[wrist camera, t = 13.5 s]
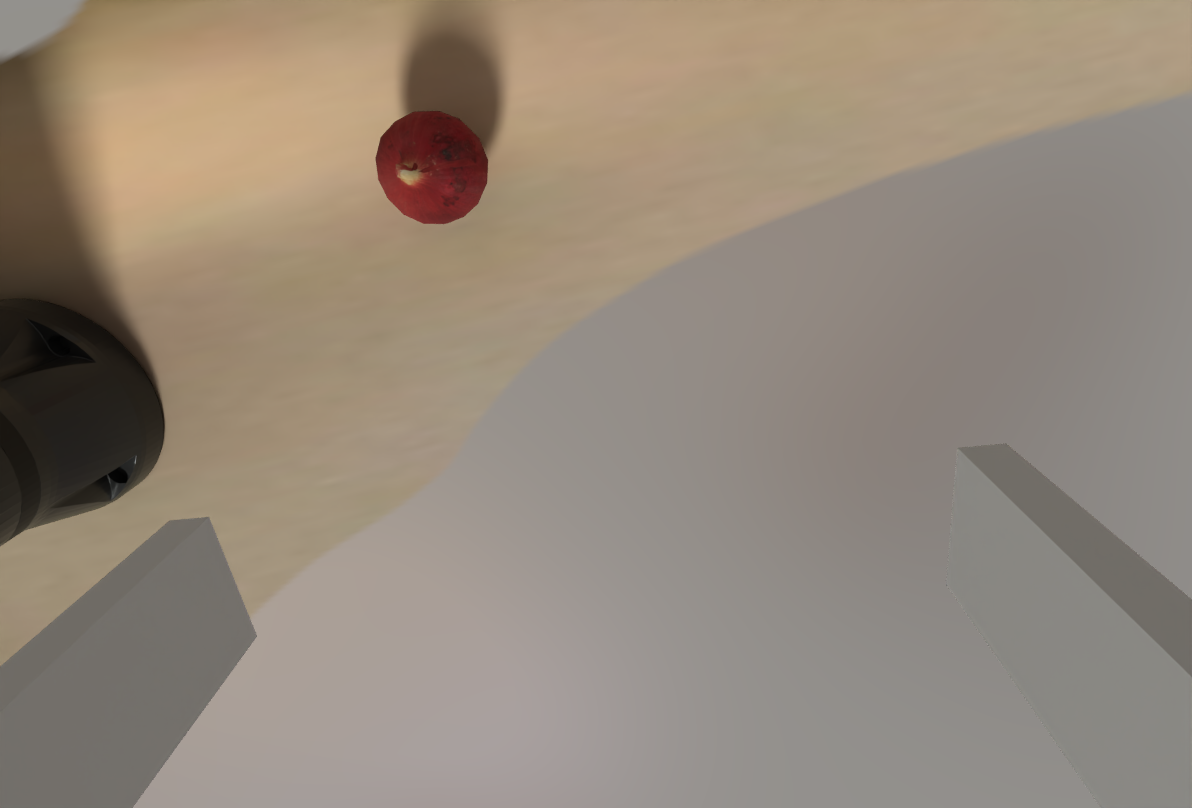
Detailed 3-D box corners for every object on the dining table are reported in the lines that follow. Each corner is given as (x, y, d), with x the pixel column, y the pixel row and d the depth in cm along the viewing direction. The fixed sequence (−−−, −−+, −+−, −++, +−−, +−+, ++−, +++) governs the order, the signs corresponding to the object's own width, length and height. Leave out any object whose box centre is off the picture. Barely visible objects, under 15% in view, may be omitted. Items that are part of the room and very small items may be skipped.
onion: (473, 95, 38) (435, 87, 31) (514, 193, 40) (488, 208, 33) (384, 135, 39) (327, 137, 32) (428, 229, 41) (385, 252, 34)
